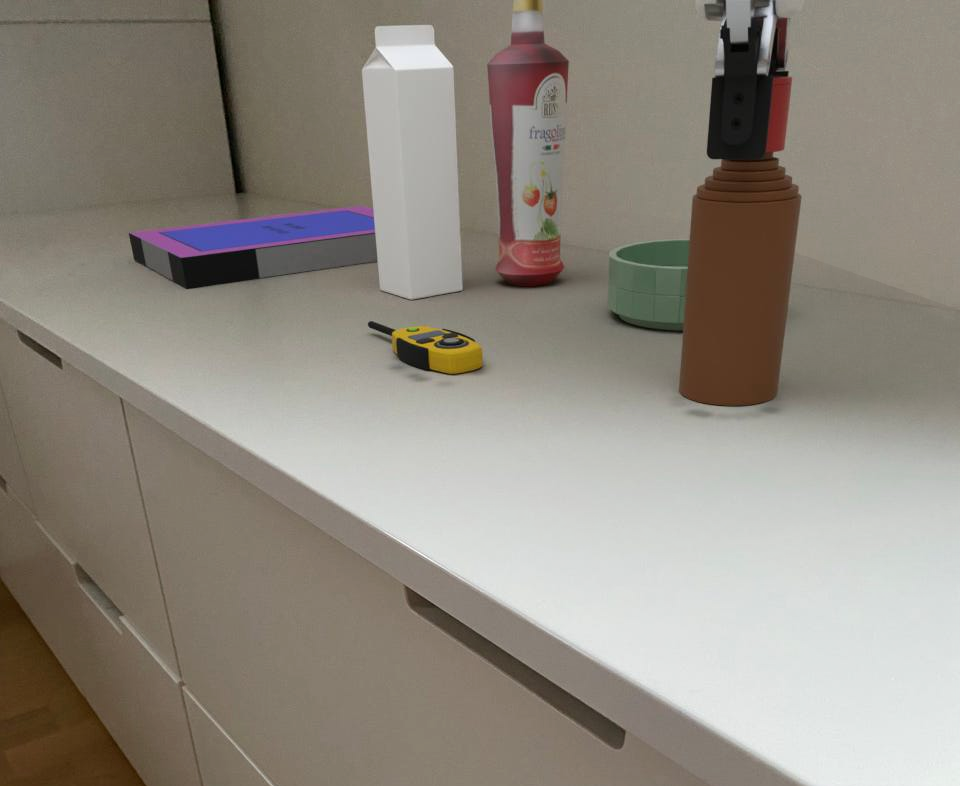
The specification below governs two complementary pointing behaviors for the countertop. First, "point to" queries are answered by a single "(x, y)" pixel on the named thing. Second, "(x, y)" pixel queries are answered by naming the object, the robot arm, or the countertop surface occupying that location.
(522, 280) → the liquor
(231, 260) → the book
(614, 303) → the bowl
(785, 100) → the cap
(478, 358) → the yellow walkie talkie
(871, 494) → the countertop surface
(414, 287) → the milk
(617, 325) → the countertop surface
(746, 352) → the bottle
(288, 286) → the countertop surface
